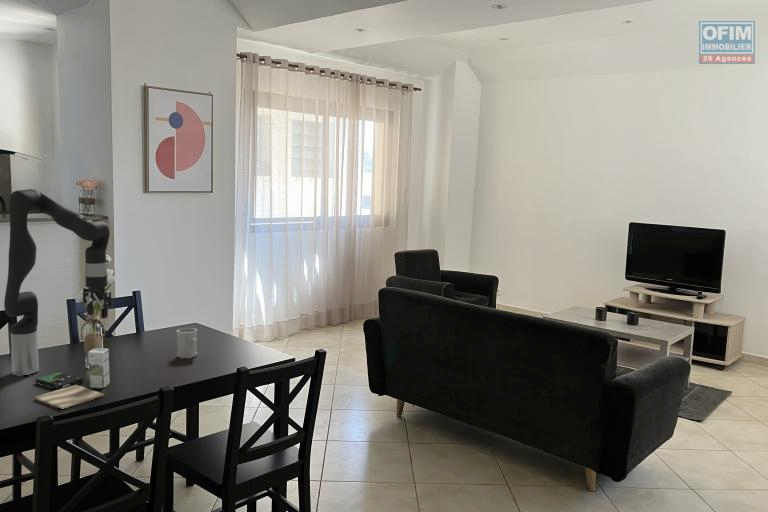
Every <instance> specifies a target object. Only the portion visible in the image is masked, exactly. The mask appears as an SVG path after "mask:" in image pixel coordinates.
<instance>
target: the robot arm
mask: <svg viewBox="0 0 768 512" xmlns="http://www.w3.org/2000/svg"><path fill="white" fill-rule="evenodd" d="M35 213H39V214H45V215H47V216H50V217H51V218H52V219H53V221H54V222H55V223H56V224H57V225H58V226H60V227H62V228H64V229H66V230H69V231H71V232H73V233H74V234H75V235H76V236H78V237H79V238H80V239H82V240H84V241H89V242H92V243H91V245H90V246H88V247H87V248H85V252H84V255H85V258H84V259H85V267H84V276H85V279H84V280H85V287H83V288H82V302H83V304H85V306H86V311H87V314H86V315H87V316H88V315H89V316H92V315H95V311H94V309H95V307H94V303H95V302H96V303H97V304H98V305H99V306H100V317H101V319H107V318H108V312H109V311H108V308H111V307H112V306H113V305H112V304H113V303H112V302H113V301H112V292H111V291H110V290H109V291H106V287H107V286H108V266H107V249H108V243H109V239H110V227H109V225H108V224H107V223H106V221H105V222H104V221H103V220H96V221H88V220H87V218H86V217H85V216H84V215H82V214H80V213H78V212H76V211H74V210H71V209H69V208H67V207H65V206H63V205H61V204H60V203H58V202H56V201H55V200H53V199H52V198H50V197H49V196H47V195H45V194H44V193H43V192H41V191H39V190H37V189H35V188H34V189H32V188H30V189H21V190H20V189H19V190H15V191H13V192H11V194H10V196H9V200H8V214H9V244H8V245H9V247H8V269H7V270H8V271H7V281H6V288H5V294H4V302H3V303H4V304H3V306H4V307H3V308H4V312H5V313H6V315H7V316H8V317H9V318H12V317H13V318H15V317H21V319H20V320H18V321H17V322H15V323H13V324H11V326H10V329H9V330H10V345H11V346H10V347H11V351H10V353H11V372H12V371H13V373H12V375H13V374H16V375H22V374H30V373H35V372H37V371H39V372H40V370H39V369H40V368H39V363H40V362H39V347H38V346H39V344H38V325H39V323H38V322H39V320H38V317H39V316H38V315H39V303H38V302H39V301H38V297H37V295H36V293H35V292H33V291H23V292H20V290H21V286H22V284H23V282H24V280H25V279H26V278H27V277H28V275H29V274H30V272H31V271H32V269H33V268H34V267H35V265H36V259H37V246H36V243H35V242H36V241H35V240H34V238H33V237H32V234H31V233H30V231H29V229H28V216H29V214H35Z"/></svg>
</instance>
